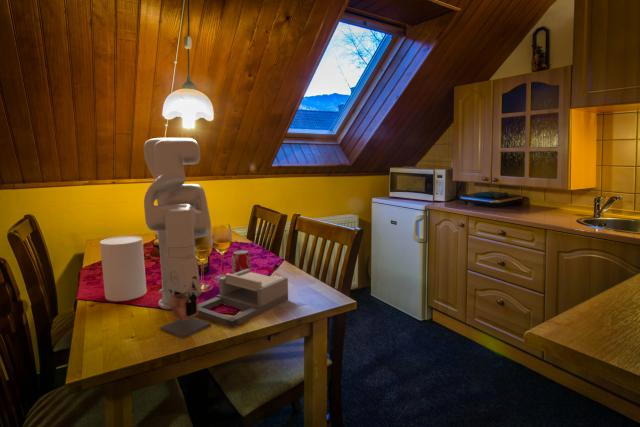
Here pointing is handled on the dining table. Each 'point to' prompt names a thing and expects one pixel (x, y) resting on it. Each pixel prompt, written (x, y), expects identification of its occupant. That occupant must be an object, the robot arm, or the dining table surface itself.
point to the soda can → (240, 261)
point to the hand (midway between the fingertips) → (185, 311)
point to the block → (181, 306)
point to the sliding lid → (249, 280)
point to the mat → (185, 327)
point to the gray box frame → (244, 300)
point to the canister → (123, 267)
